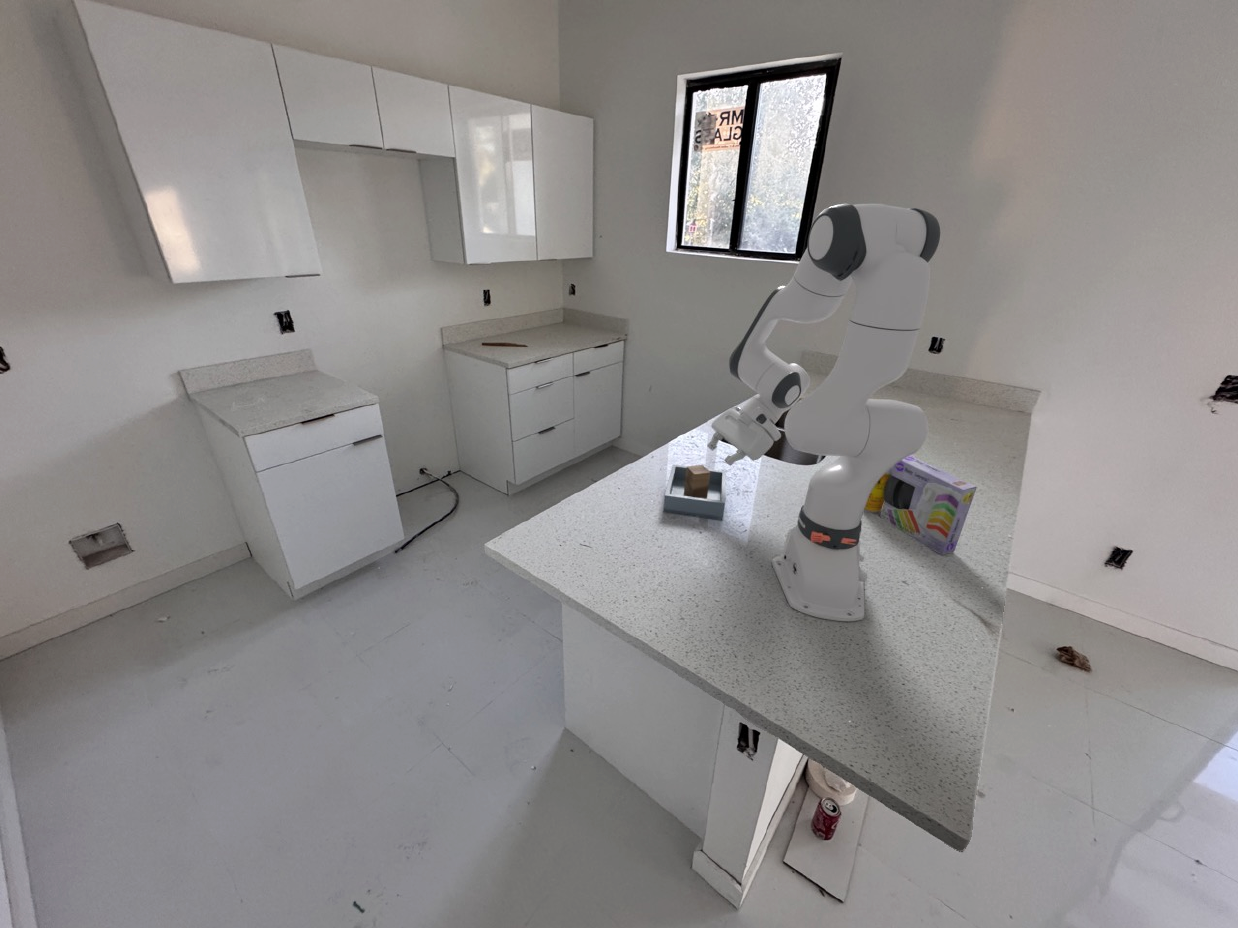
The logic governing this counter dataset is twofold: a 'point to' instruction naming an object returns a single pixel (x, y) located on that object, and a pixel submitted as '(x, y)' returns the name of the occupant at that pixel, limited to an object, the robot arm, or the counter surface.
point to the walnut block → (697, 481)
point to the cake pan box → (927, 503)
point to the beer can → (878, 494)
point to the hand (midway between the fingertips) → (718, 455)
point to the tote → (692, 505)
